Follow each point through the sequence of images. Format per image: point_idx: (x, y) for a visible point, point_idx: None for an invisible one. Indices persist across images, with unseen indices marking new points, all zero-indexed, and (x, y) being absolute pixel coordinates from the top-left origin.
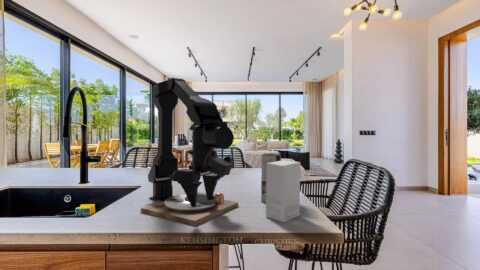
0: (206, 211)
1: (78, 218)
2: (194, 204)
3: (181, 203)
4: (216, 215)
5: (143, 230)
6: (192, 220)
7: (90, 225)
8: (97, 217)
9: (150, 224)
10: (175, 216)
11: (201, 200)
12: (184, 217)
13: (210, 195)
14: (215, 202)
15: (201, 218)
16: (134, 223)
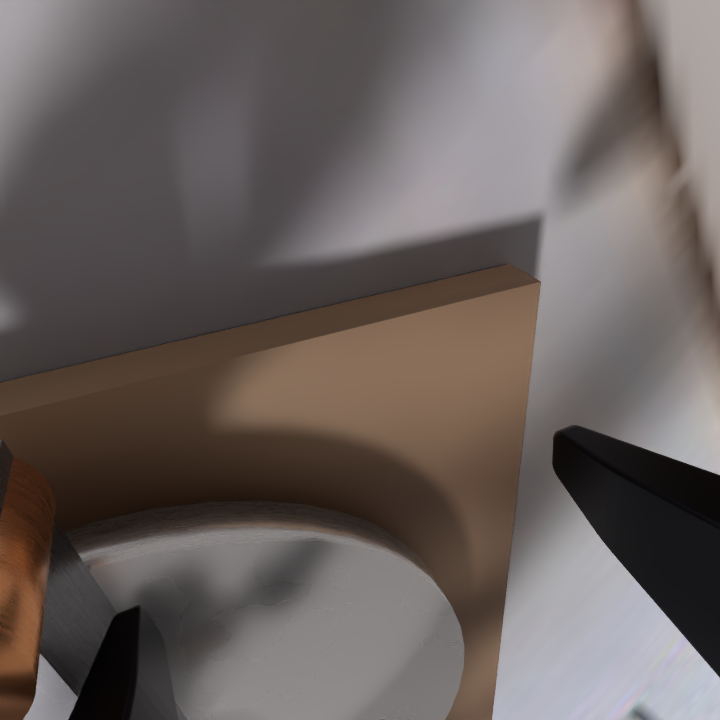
0: (211, 470)
1: (655, 704)
2: (606, 441)
3: (354, 702)
4: (99, 361)
5: (707, 429)
6: (534, 315)
7: None
8: (622, 695)
9: None
10: (514, 500)
11: None
12: (507, 432)
13: (146, 689)
14: (52, 544)
15: (436, 304)
16: None
